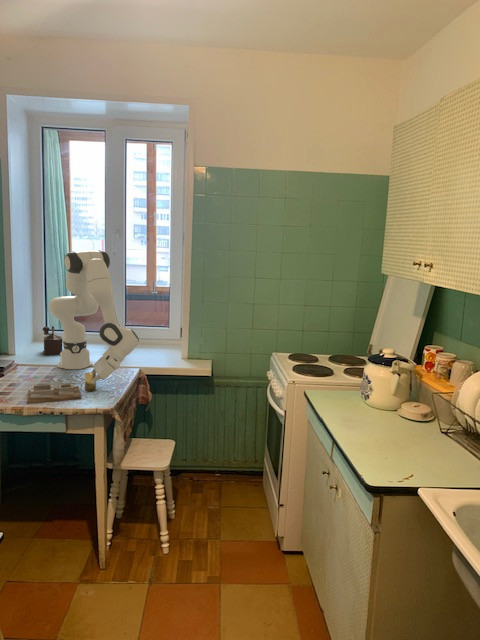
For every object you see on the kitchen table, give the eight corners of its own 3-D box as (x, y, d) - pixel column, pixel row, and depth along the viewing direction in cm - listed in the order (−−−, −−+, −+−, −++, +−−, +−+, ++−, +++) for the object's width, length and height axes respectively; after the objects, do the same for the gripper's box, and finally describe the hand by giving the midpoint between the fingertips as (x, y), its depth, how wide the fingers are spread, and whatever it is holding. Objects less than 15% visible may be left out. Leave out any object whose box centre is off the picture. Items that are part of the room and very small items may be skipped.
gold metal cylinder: (84, 389, 229) (84, 372, 227) (95, 388, 231) (95, 372, 229) (85, 392, 224) (85, 375, 223) (96, 391, 226) (96, 374, 225)
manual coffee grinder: (42, 351, 295) (41, 322, 292) (61, 350, 299) (61, 321, 296) (43, 357, 281) (42, 327, 278) (63, 356, 285) (62, 326, 282)
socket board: (28, 392, 220) (27, 383, 220) (78, 388, 229) (78, 380, 228) (27, 403, 207) (27, 394, 206) (81, 399, 215) (81, 390, 214)
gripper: (104, 349, 237) (83, 369, 235) (109, 359, 218) (87, 381, 216) (113, 357, 239) (93, 377, 237) (119, 368, 221) (98, 390, 219)
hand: (90, 379), depth 227 cm, fingers open, 8 cm apart
